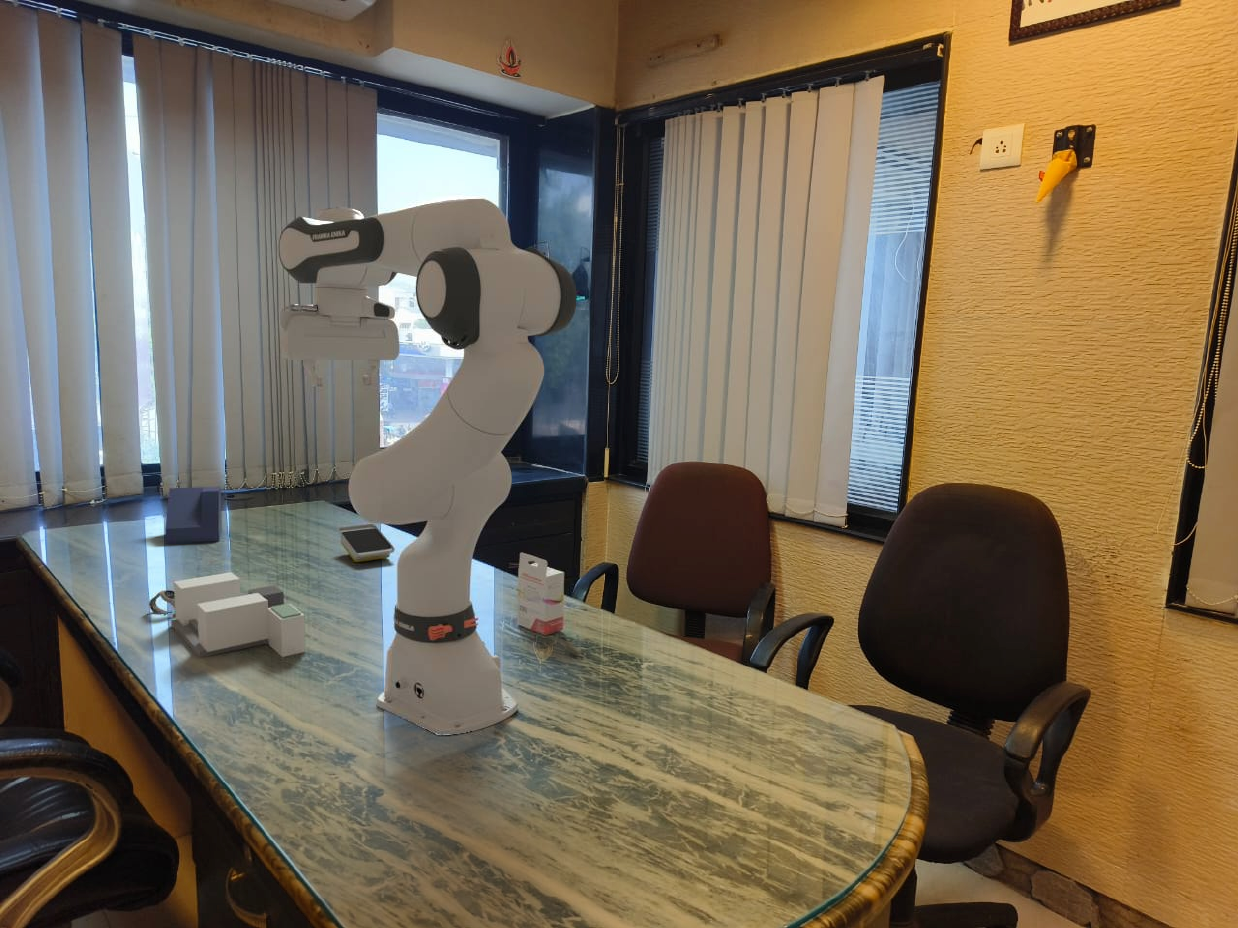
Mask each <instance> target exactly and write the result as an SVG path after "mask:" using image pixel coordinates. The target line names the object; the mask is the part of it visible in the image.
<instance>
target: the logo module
mask: <svg viewBox="0 0 1238 928" xmlns="http://www.w3.org/2000/svg"><path fill="white" fill-rule="evenodd" d="M305 616H306V615H305V614H304V613H303V612H302V611H300V610H299V609H298V608H296V607H295V606H294V605H292V604H291V603H284V604H283V605H278V606H273V607H271V608H268V626H269V638H268V643H267V645H269V647H271V648H272V649H273V650H274V652H276V653H278V655H280V657H282V658H283V657H288V656H293V655H297V654H302V653H306V652H307V647H306V646H307V645H306V644H307V643H306V617H305Z"/></svg>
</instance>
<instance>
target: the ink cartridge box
mask: <svg viewBox="0 0 1238 928" xmlns="http://www.w3.org/2000/svg"><path fill="white" fill-rule="evenodd" d="M529 562H533V563H531V564H530V563H529ZM518 563H519V564H518V573H517V574H518V578H517V584H518V585H517V622H516V623H517V625H519V626H522V627H524V628H526V629H528V630H531V631H533V632H535V633H537V634H540V635H542V636H548V635H550V634H554V633H557V632H560V631H563V628H564V597H565V595H564V592H565V588H564V587H565V586H564V585H565V584H564V583H565V572H564V571H561V570H557V569H555V568H552V567H549V566H548V561H547V560H546V559H543V558H539V557H538V556H534V555H531V554H529V553H528V554H527V553H524V552H520V553H519V562H518Z"/></svg>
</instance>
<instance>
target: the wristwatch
mask: <svg viewBox="0 0 1238 928" xmlns="http://www.w3.org/2000/svg"><path fill="white" fill-rule="evenodd" d="M159 598H161V600H163V601H164V602H166V603H169V604H170V605H171V606H173V608H174V609H175V595H174V590H172V589H164V590H161V591H159V592H158V593H156V595H155V596H153V597H152V598H151V599H150V600H149V603H148V606H149V608H150V610H151V611H152V613H153V614H154V613H156V614H155V615H161V614H164V615H163V616H167V615H169V614H168V613H170V614H171V613H172V611H171V610H169V611H166V610H164V609H162V608H160V607H158V605H157V599H159ZM166 614H167V615H166ZM172 617H176V613H175V612H174V613H173V614H172Z"/></svg>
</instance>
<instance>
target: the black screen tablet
mask: <svg viewBox="0 0 1238 928" xmlns="http://www.w3.org/2000/svg"><path fill="white" fill-rule="evenodd" d="M338 533H339V534H340V544H341V545H342V547H343V548H344V549H345V551H346V552H347V554H348V555H349V556H350V557H351V559H352V560H353V562H357V563H360V562H368V561H373V560H380V559H386V558H390V555H391V554H392V553H395V547H394V546H393V545H392V544H391V542H390V541H389V539H387V537H386V536H385V535H384V534H383V533H382V531H380V529H379V528H378V527H377V525H375V523H368V524H361V525H350V526H342V527H339V528H338Z"/></svg>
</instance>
